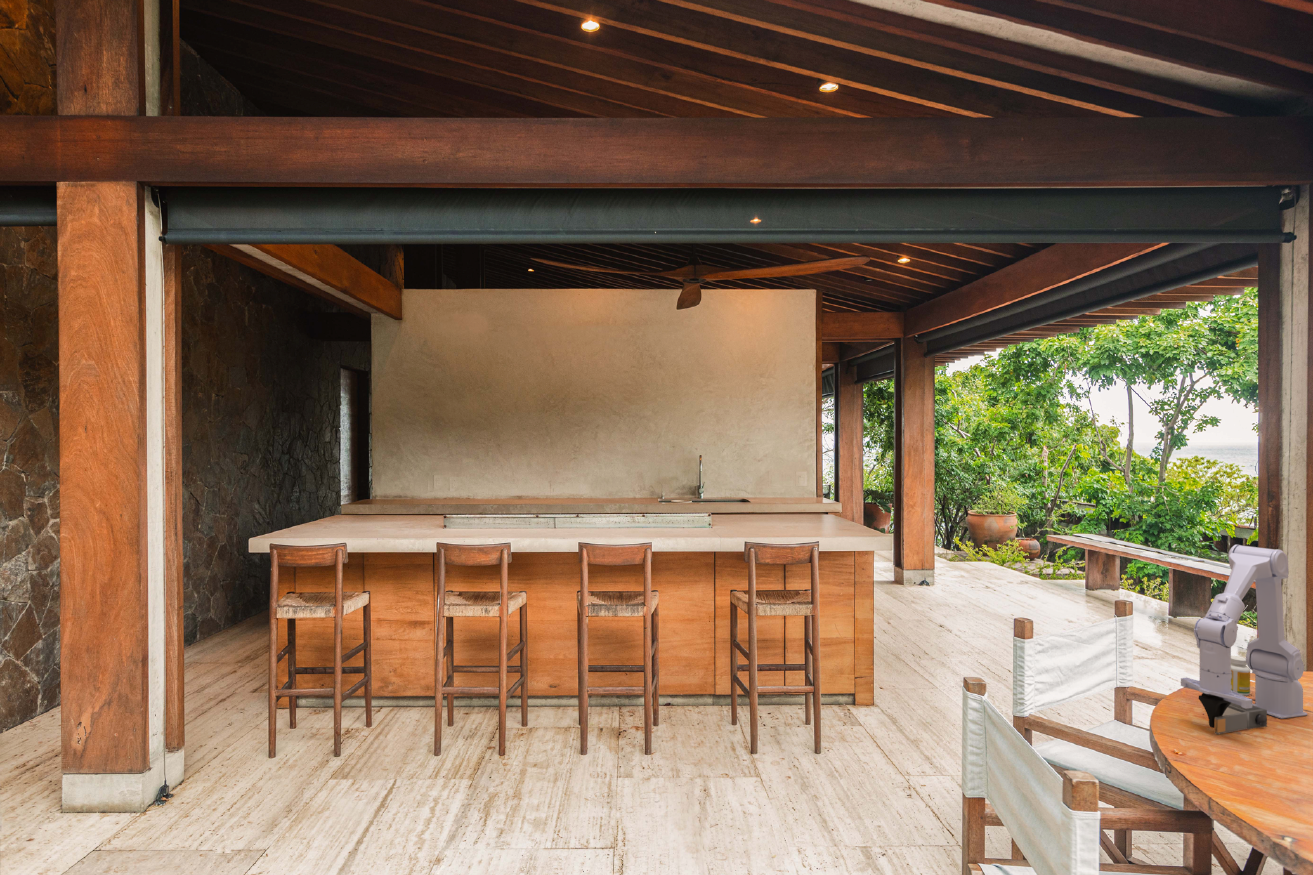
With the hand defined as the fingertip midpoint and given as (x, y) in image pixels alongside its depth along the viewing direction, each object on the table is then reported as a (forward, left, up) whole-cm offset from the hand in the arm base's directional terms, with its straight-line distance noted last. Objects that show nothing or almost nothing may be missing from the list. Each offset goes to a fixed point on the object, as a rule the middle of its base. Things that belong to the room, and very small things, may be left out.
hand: (1215, 726), depth 158 cm
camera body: (-12, -3, -1) cm, 13 cm away
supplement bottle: (-32, -17, -1) cm, 37 cm away
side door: (-4, +1, -1) cm, 4 cm away
